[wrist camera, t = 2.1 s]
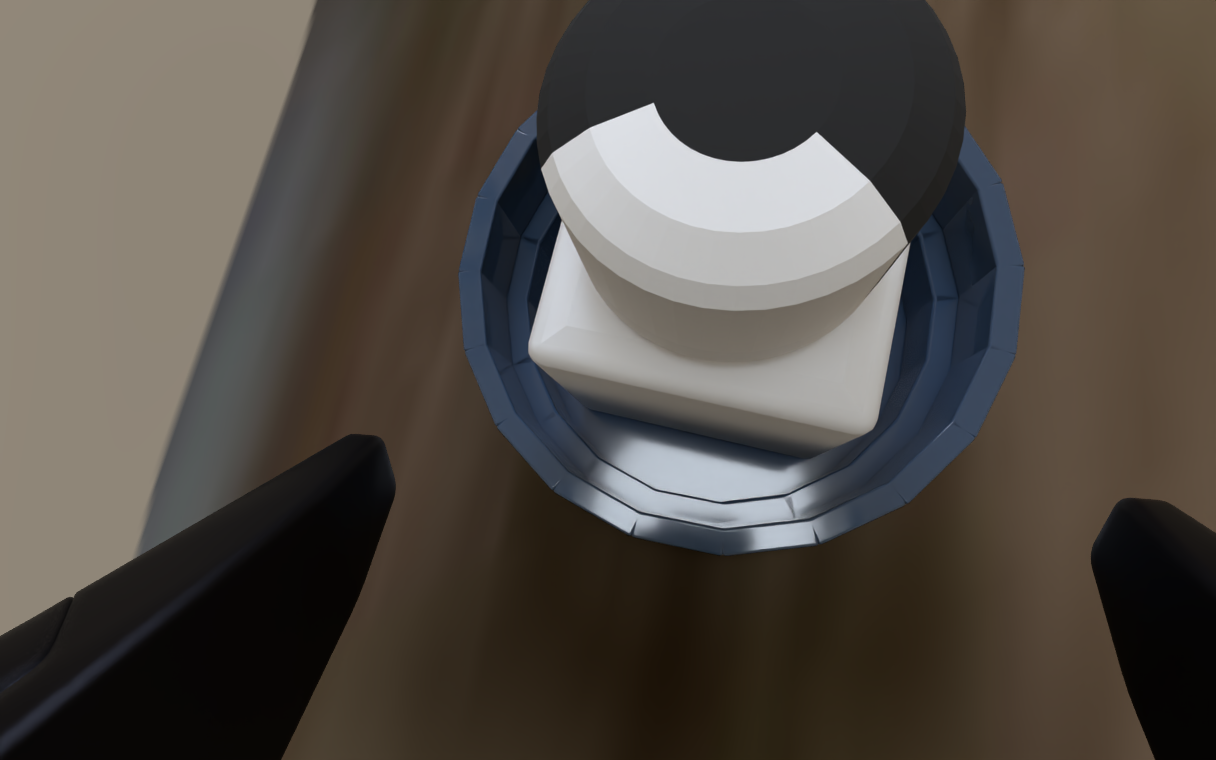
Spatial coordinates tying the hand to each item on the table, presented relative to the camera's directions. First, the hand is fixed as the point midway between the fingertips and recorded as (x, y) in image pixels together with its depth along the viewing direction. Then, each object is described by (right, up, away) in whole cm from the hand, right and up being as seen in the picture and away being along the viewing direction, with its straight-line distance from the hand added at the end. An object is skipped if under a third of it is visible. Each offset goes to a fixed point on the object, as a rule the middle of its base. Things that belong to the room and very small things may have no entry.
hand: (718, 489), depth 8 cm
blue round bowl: (+2, +3, +12) cm, 13 cm away
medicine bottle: (+2, +3, +12) cm, 13 cm away
